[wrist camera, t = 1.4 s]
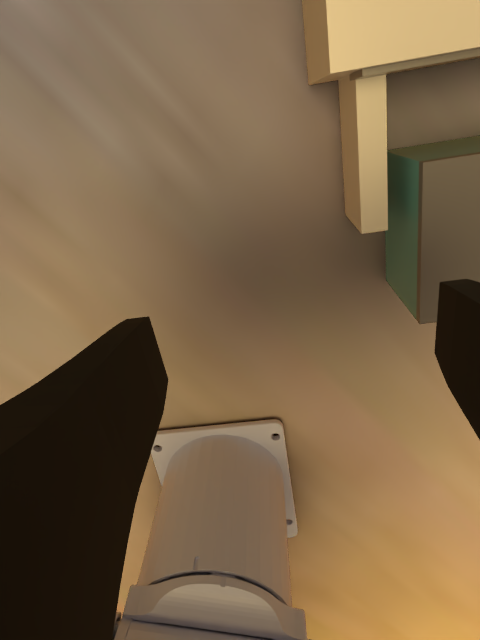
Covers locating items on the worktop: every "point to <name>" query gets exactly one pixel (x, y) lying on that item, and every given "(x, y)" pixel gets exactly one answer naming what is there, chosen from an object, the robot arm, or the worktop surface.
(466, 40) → the bay
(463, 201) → the tall grey-green carton
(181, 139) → the worktop surface
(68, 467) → the robot arm
